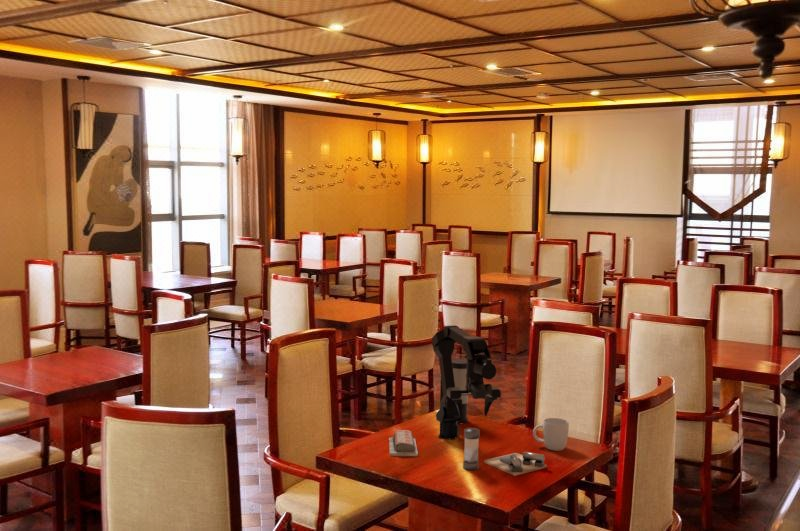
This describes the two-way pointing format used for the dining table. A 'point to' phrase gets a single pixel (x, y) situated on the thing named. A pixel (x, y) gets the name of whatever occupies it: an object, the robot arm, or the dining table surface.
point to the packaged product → (402, 444)
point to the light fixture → (459, 384)
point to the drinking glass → (471, 449)
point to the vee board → (503, 465)
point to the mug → (553, 433)
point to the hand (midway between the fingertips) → (473, 416)
